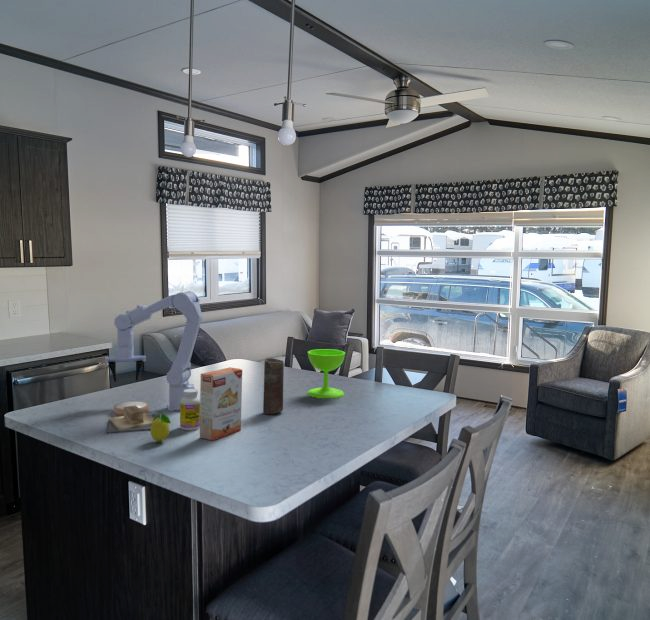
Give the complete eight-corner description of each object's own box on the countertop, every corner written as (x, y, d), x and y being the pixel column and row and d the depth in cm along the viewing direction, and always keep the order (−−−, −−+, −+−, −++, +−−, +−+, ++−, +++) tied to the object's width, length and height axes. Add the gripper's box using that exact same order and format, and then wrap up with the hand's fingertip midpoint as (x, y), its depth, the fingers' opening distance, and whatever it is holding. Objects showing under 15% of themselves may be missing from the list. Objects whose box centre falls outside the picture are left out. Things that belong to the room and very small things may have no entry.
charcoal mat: (157, 415, 197) (157, 414, 197) (159, 429, 182) (159, 427, 182) (109, 419, 192) (109, 417, 192) (107, 433, 177) (107, 431, 177)
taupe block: (146, 414, 196) (146, 402, 196) (158, 424, 186) (158, 410, 185) (108, 420, 189) (108, 407, 188) (119, 430, 178) (118, 416, 178)
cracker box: (213, 441, 171) (213, 375, 169) (198, 438, 174) (199, 373, 172) (242, 430, 183) (243, 368, 181) (228, 427, 186) (229, 366, 184)
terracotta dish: (148, 406, 208) (148, 400, 208) (148, 415, 197) (148, 408, 197) (114, 408, 204) (114, 402, 204) (113, 418, 193) (113, 410, 193)
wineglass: (351, 395, 232) (353, 353, 230) (320, 400, 223) (321, 357, 221) (330, 388, 245) (331, 348, 243) (299, 392, 236) (300, 350, 234)
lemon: (170, 445, 167) (170, 412, 166) (150, 446, 166) (150, 414, 165) (170, 437, 174) (170, 407, 173) (150, 439, 172) (150, 408, 171)
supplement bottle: (182, 432, 180) (182, 393, 178) (178, 426, 186) (178, 389, 184) (202, 429, 183) (203, 391, 182) (197, 424, 189) (197, 387, 187)
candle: (272, 408, 210) (273, 357, 208) (287, 412, 205) (288, 359, 203) (259, 413, 203) (259, 359, 202) (274, 416, 199) (274, 362, 197)
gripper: (145, 343, 214) (145, 377, 216) (105, 344, 210) (106, 379, 211) (145, 346, 208) (146, 381, 209) (104, 347, 203) (105, 383, 204)
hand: (126, 380), depth 210 cm, fingers open, 7 cm apart
